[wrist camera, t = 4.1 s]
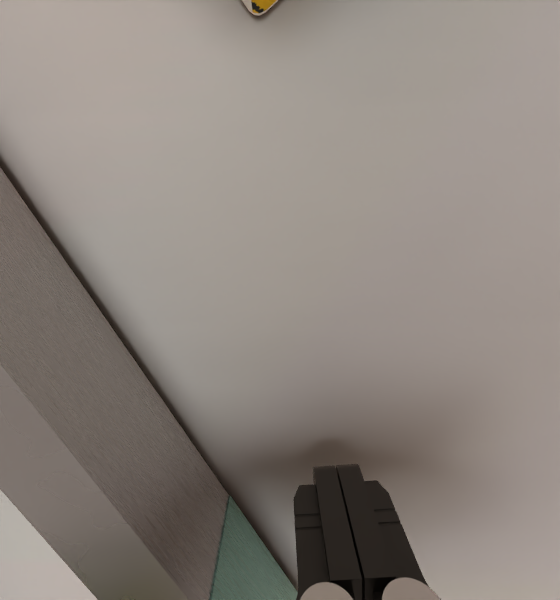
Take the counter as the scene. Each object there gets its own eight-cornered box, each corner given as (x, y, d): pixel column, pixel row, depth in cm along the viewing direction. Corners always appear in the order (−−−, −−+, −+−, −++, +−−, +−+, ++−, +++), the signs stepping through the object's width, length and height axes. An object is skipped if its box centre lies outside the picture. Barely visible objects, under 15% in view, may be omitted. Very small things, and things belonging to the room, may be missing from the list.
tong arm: (-114, 1, 9) (-447, -189, 5) (303, 601, 14) (314, 759, 10) (-171, 44, 9) (-536, -102, 5) (259, 619, 14) (251, 781, 10)
